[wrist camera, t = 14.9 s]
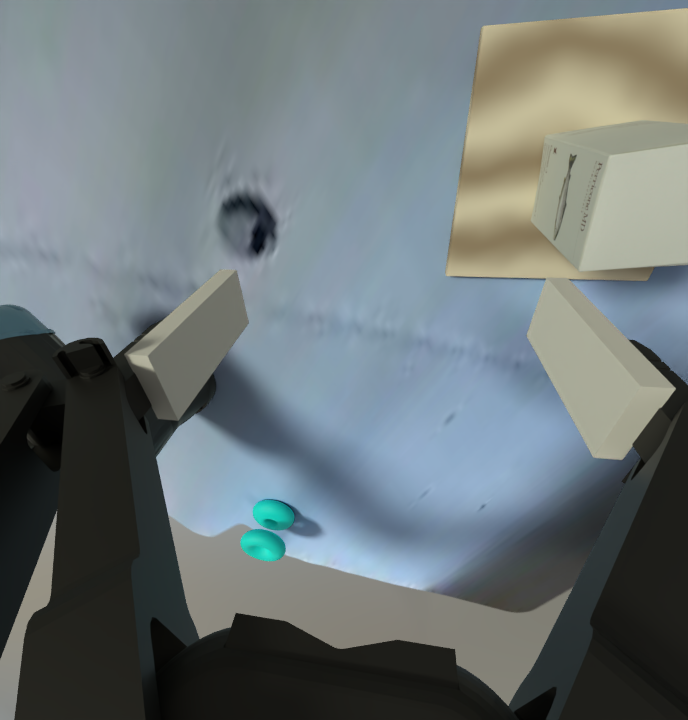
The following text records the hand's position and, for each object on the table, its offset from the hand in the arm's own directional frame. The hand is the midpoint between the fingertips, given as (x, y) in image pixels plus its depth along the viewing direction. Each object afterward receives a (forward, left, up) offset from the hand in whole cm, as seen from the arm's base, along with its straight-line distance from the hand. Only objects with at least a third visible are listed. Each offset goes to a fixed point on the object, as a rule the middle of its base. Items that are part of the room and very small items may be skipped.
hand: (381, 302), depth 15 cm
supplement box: (+1, -16, -24) cm, 29 cm away
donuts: (-69, +25, -25) cm, 77 cm away
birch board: (+1, -16, -25) cm, 29 cm away
